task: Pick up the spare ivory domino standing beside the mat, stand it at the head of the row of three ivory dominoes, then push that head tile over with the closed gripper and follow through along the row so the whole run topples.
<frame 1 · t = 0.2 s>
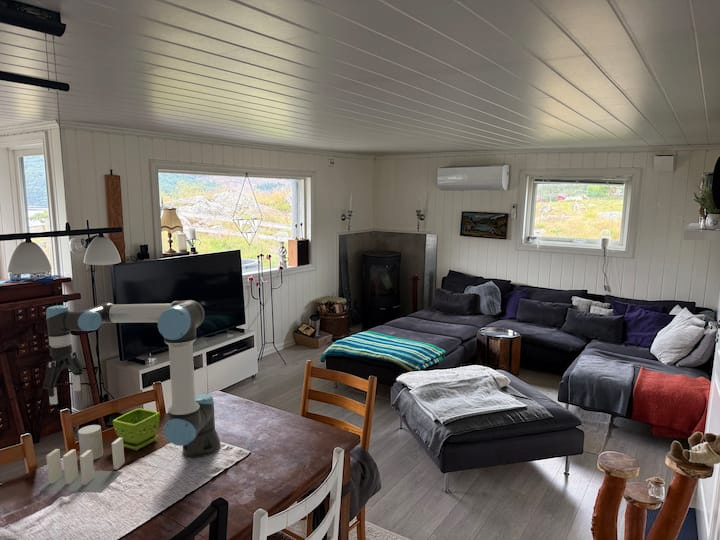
hand: (66, 397, 195), 27 cm above the table, fingers open, 13 cm apart
domino 1: (119, 466, 194), on the table
domino 2: (88, 480, 184), resting on mat
mat: (81, 481, 184), on the table
domino 4: (55, 479, 185), resting on mat
domino 3: (72, 480, 184), resting on mat
flower pot: (138, 444, 213), on the table
white upright cylinder: (92, 457, 202), on the table
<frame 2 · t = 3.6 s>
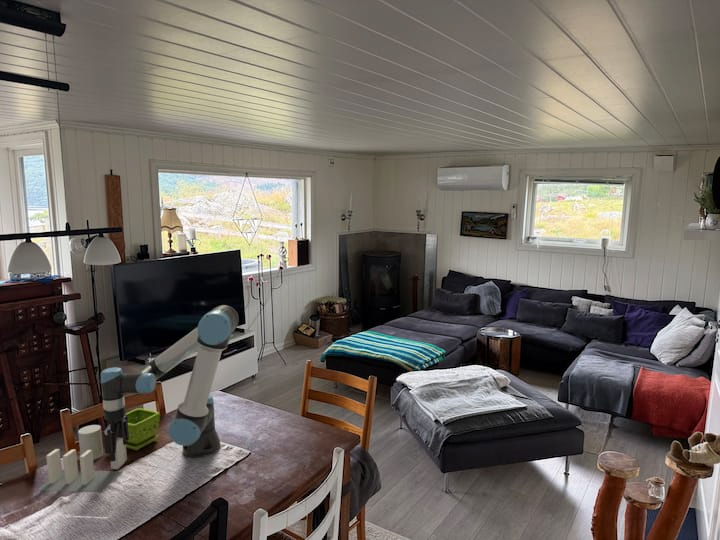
hand: (119, 463, 194), 1 cm above the table, fingers closed on domino 1, 5 cm apart
domino 1: (119, 466, 194), on the table, touching gripper
everything else where it was.
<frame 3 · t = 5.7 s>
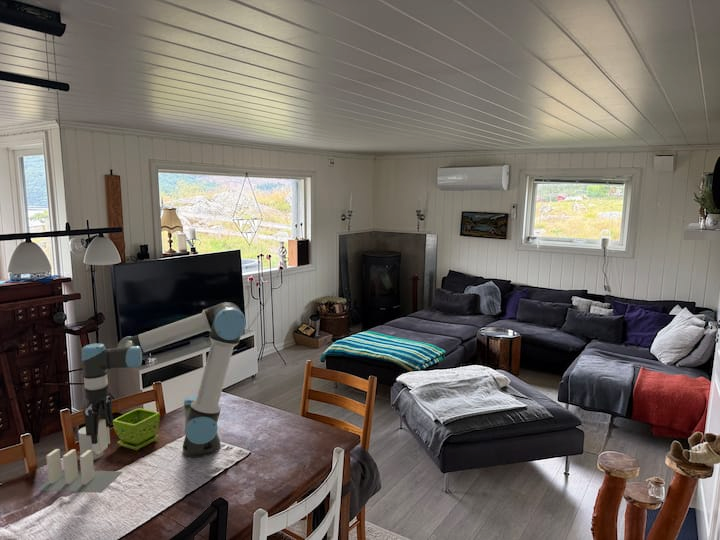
hand: (101, 447, 181), 14 cm above the table, fingers closed on domino 1, 5 cm apart
domino 1: (101, 450, 181), point 13 cm above the table, touching gripper
everything else where it was.
when the fingers open (2 cm above the table, at t = 8.0 s): domino 1 stays where it is, resting on mat.
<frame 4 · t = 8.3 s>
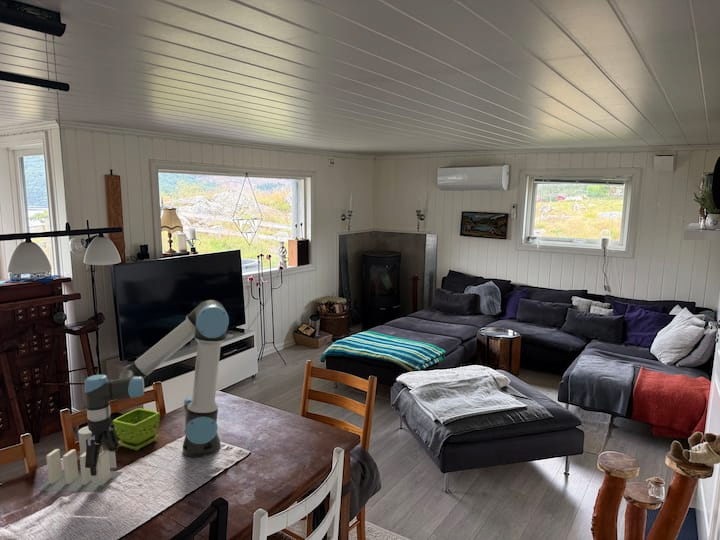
hand: (104, 474, 183), 3 cm above the table, fingers open, 9 cm apart
domino 1: (104, 481, 183), resting on mat
everything else where it was.
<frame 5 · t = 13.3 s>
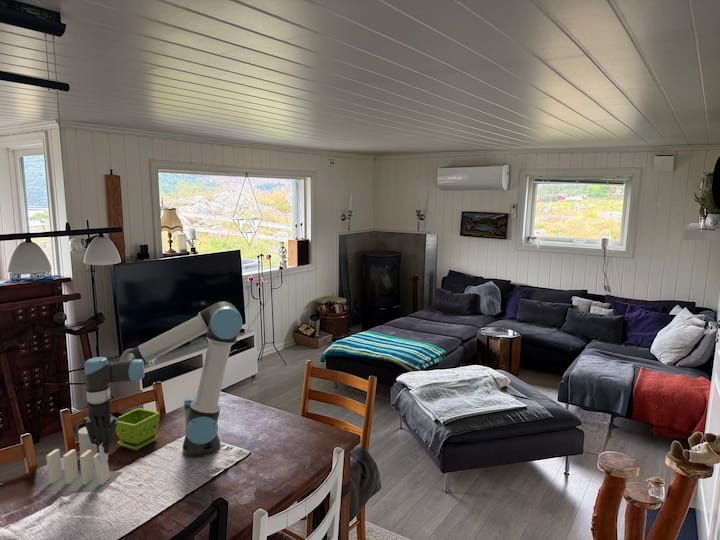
hand: (104, 461, 182), 9 cm above the table, fingers closed
domino 1: (104, 481, 183), point 1 cm above the table, tilted 7°, touching mat
everything else where it was.
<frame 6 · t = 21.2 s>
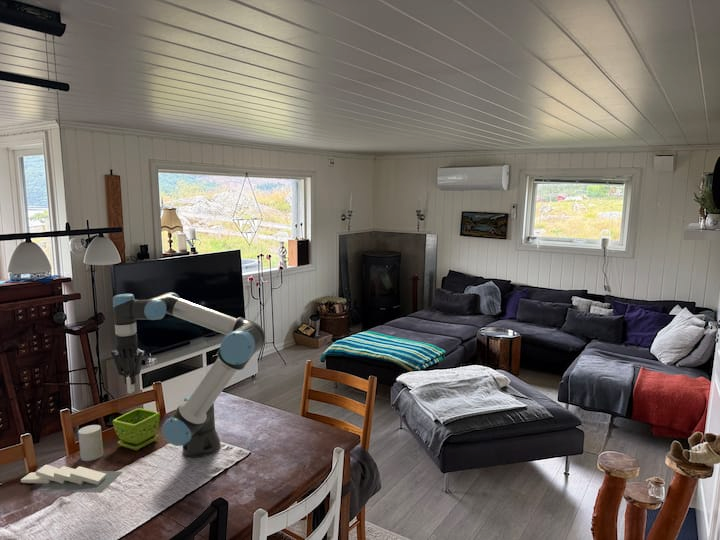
hand: (131, 391, 194), 29 cm above the table, fingers closed
domino 1: (102, 479, 183), point 1 cm above the table, tilted 75°, touching domino 2, mat
domino 2: (86, 478, 184), point 1 cm above the table, tilted 76°, touching domino 1, domino 3, mat
domino 4: (53, 477, 185), point 1 cm above the table, tilted 92°, touching domino 3, mat
domino 3: (68, 478, 184), point 1 cm above the table, tilted 74°, touching domino 2, domino 4, mat
everything else where it was.
at the end: domino 4 tilted 92°; domino 1 inside the target area (2.9 cm from its centre), point 1.2 cm above the table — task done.
